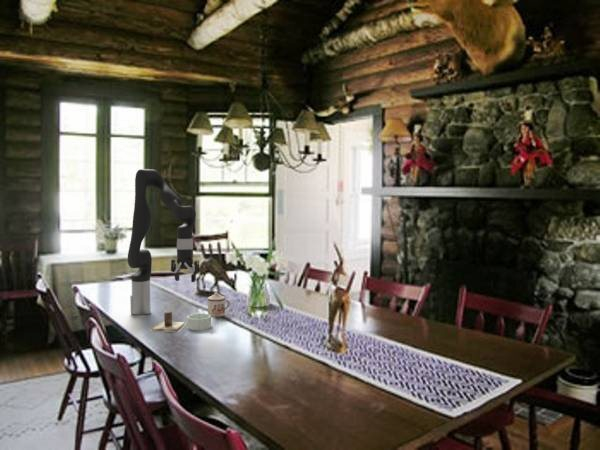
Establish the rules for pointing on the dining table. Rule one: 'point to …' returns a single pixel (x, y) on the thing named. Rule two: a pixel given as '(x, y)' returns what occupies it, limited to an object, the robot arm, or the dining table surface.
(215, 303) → the teacup with lid
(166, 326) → the cover
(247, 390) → the dining table surface
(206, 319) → the bowl
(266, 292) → the glass flower vase
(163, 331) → the mat
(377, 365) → the dining table surface
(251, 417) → the dining table surface
